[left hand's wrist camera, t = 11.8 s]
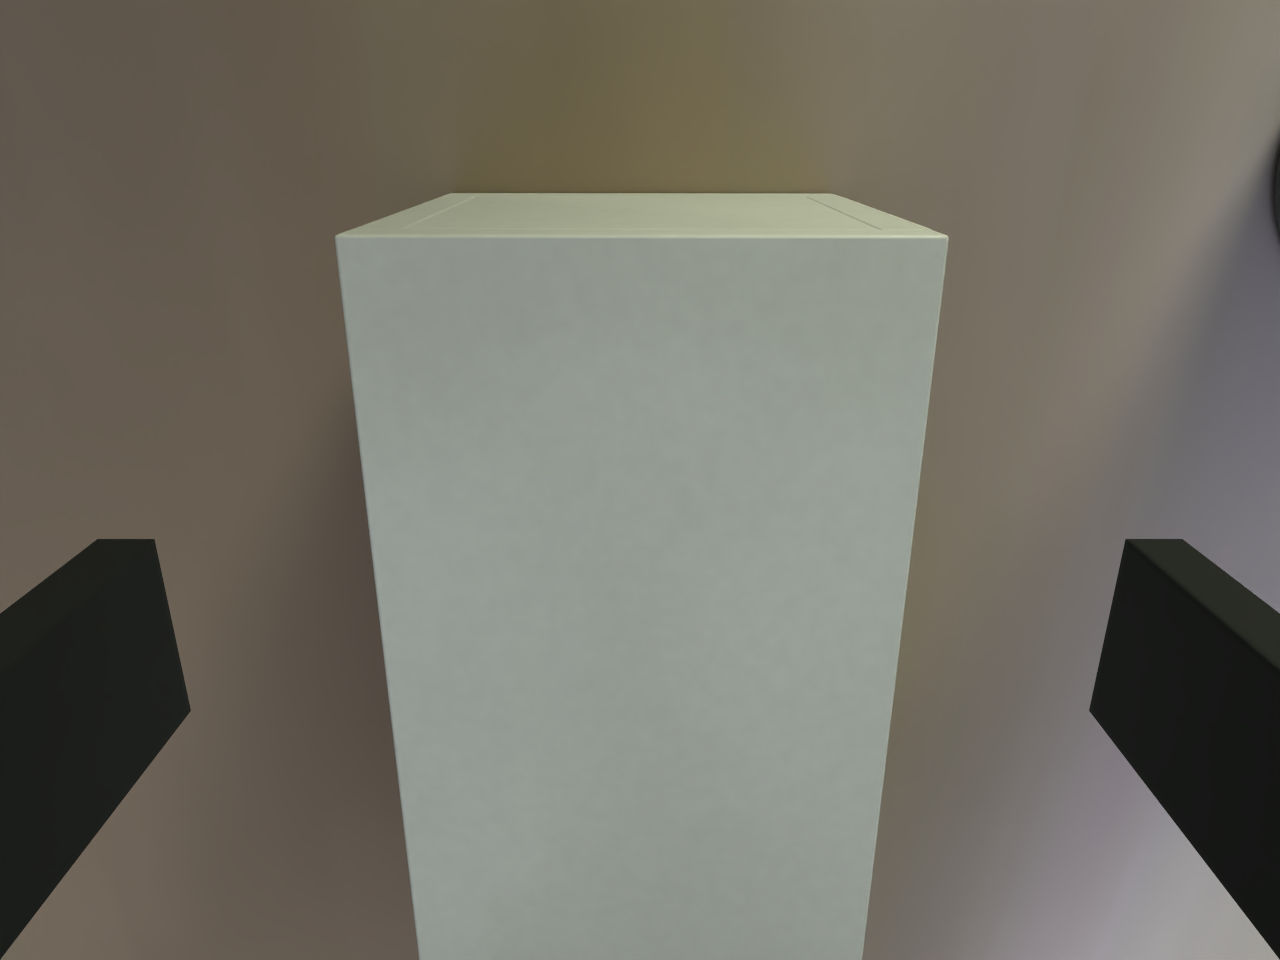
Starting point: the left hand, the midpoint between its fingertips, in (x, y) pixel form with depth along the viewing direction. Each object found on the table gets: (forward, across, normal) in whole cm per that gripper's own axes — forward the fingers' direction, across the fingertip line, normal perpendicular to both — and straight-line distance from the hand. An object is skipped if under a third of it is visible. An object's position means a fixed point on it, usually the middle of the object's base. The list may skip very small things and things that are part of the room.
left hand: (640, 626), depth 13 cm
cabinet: (+18, 0, -5) cm, 18 cm away
